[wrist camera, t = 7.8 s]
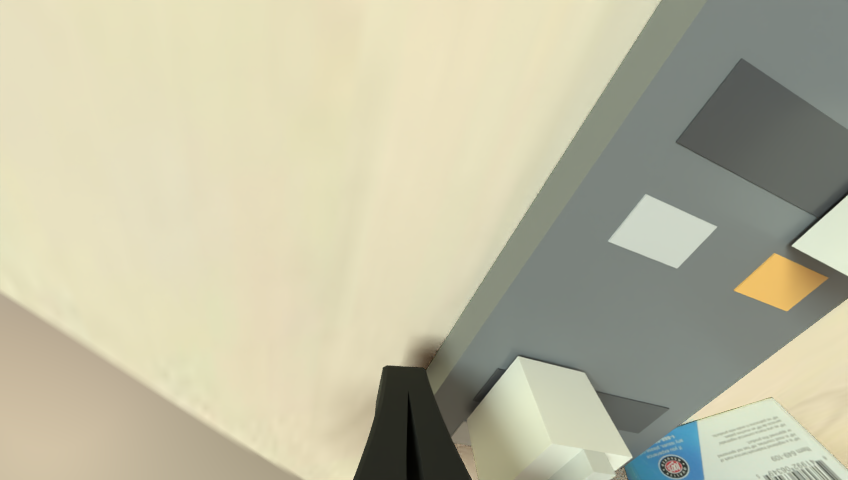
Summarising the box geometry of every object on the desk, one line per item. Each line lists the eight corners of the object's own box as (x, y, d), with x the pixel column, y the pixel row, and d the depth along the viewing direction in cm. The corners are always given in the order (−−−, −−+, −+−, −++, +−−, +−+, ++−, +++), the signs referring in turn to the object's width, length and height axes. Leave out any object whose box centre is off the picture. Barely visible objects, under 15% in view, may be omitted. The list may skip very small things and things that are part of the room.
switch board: (744, -131, 7) (825, -168, 6) (1004, 104, 10) (1095, 115, 9) (405, 402, 16) (406, 436, 14) (605, 439, 19) (621, 469, 18)
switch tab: (517, 355, 12) (561, 467, 9) (584, 372, 13) (645, 479, 10) (466, 419, 14) (487, 530, 11) (527, 430, 15) (564, 536, 12)
